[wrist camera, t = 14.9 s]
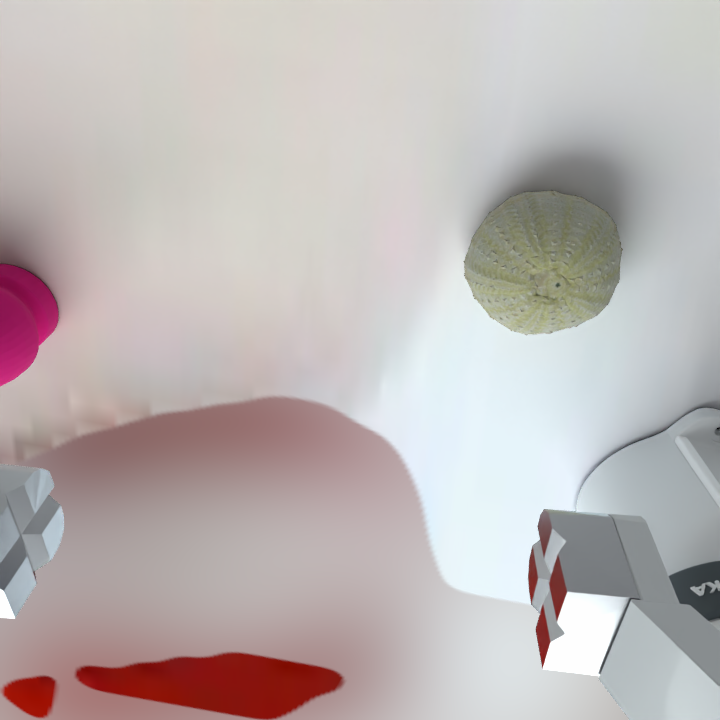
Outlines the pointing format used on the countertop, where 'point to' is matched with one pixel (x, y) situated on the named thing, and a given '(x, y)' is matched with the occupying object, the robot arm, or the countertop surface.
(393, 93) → the countertop surface
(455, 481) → the countertop surface
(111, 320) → the countertop surface
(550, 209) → the sea urchin shell
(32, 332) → the pepper mill
